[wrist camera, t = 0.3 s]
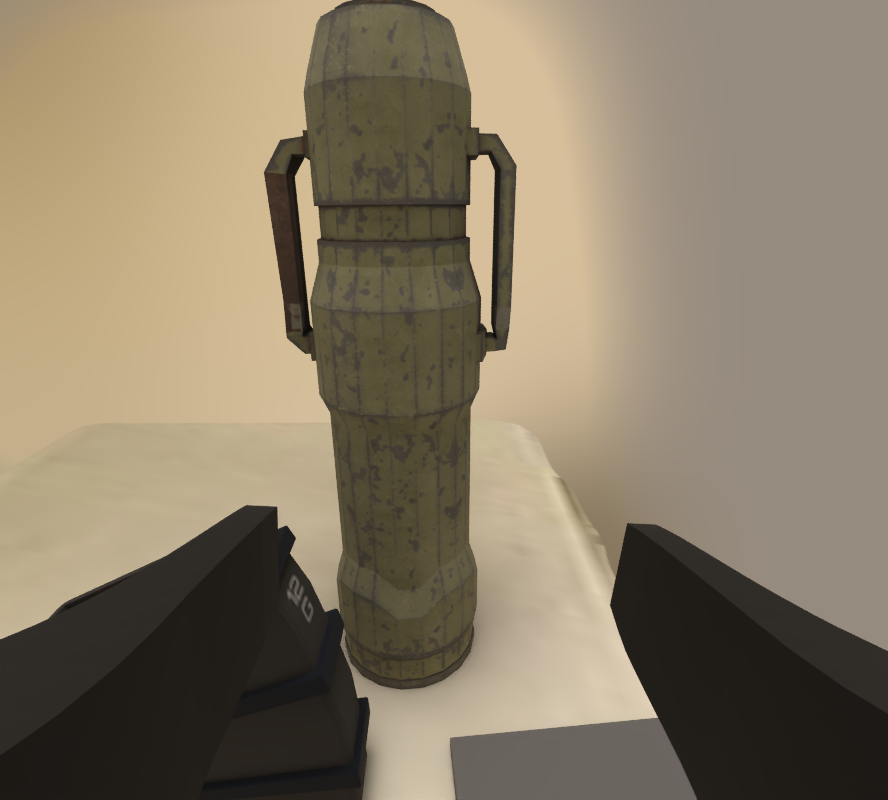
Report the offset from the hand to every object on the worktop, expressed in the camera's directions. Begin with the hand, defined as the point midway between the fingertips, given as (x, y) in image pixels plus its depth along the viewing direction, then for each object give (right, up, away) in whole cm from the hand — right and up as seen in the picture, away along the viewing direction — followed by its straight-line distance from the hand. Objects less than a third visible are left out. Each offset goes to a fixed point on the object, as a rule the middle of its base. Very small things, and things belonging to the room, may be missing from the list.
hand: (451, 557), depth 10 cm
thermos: (-3, -13, +24) cm, 28 cm away
